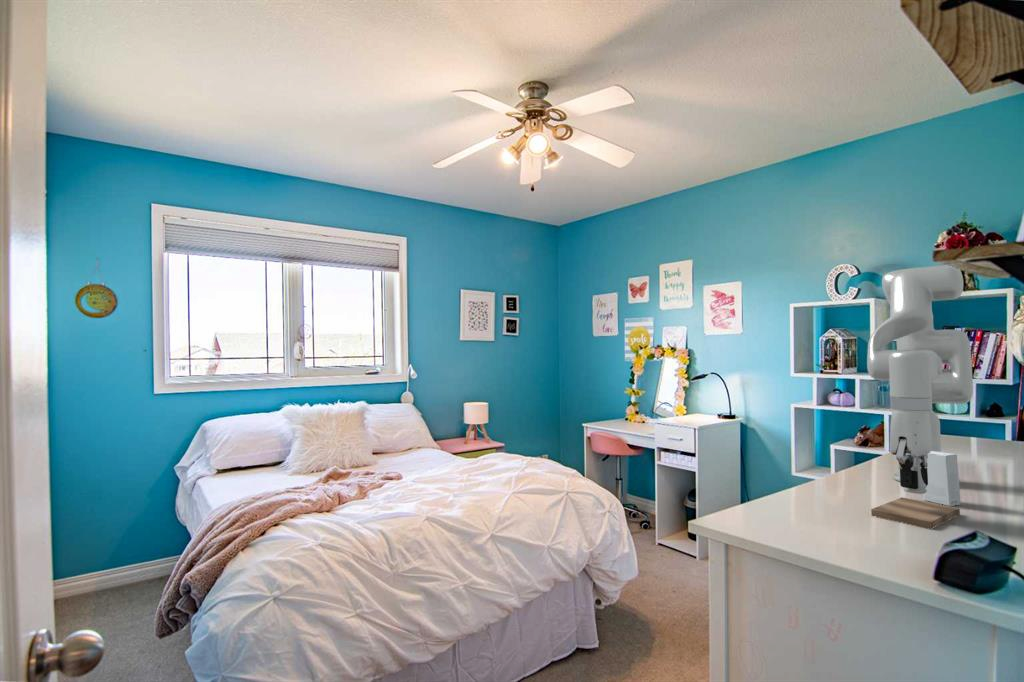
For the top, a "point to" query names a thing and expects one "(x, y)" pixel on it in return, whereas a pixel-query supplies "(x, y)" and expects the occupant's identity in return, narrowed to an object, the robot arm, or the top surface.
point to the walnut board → (915, 512)
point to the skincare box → (942, 479)
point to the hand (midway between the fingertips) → (914, 485)
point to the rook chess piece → (921, 483)
